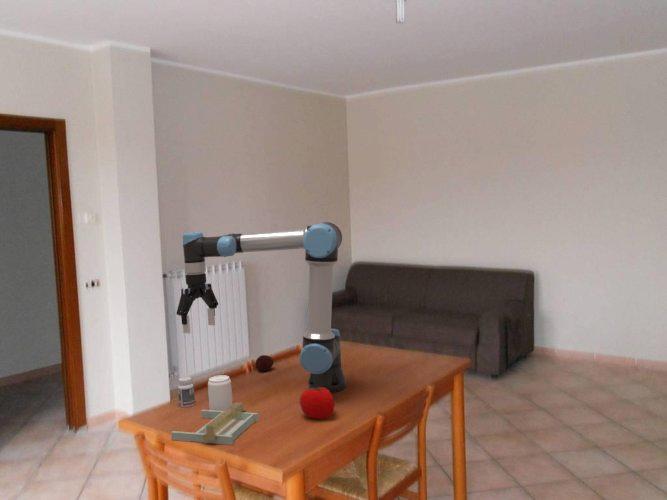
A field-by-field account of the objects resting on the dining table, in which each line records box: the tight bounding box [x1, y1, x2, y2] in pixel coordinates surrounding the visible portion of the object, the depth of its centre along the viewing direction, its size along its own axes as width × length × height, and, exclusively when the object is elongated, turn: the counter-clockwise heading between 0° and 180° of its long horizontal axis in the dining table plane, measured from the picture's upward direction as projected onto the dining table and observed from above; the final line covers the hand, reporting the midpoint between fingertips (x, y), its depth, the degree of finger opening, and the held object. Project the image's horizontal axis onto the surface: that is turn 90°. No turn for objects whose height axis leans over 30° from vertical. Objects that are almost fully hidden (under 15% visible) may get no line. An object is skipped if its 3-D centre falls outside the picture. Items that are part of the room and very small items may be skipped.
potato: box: [255, 354, 274, 372], centre depth 256 cm, size 7×8×7 cm
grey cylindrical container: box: [207, 374, 234, 411], centre depth 208 cm, size 8×8×12 cm
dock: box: [170, 409, 259, 446], centre depth 191 cm, size 21×20×2 cm
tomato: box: [299, 387, 335, 420], centre depth 198 cm, size 11×13×10 cm
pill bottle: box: [177, 376, 196, 408], centre depth 216 cm, size 6×6×10 cm
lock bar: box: [203, 401, 247, 441], centre depth 190 cm, size 4×23×4 cm, turn 164°
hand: (199, 329), depth 222 cm, fingers open, 13 cm apart
